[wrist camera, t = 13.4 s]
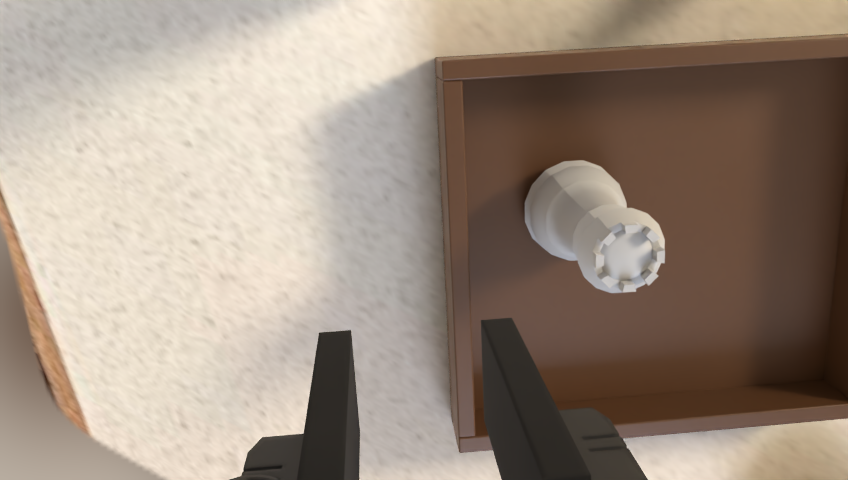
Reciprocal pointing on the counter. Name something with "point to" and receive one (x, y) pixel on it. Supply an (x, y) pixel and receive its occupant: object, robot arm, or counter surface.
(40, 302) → the counter surface
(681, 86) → the tray
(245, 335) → the counter surface
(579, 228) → the rook chess piece
